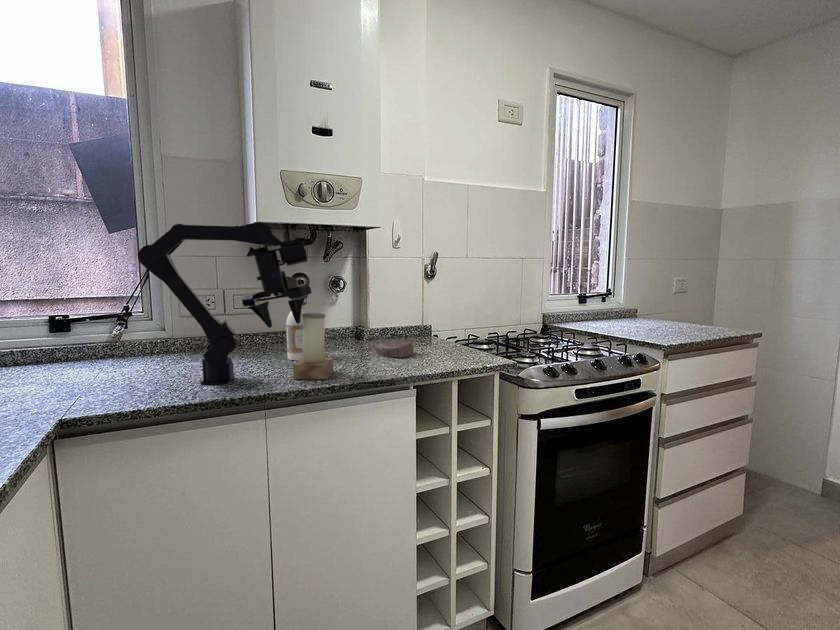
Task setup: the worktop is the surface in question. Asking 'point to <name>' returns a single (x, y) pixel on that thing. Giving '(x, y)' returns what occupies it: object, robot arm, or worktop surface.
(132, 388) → the worktop surface
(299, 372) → the walnut box
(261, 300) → the robot arm
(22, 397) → the worktop surface
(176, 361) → the worktop surface
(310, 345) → the tea tin
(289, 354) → the bath foam
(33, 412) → the worktop surface
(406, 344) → the stone
